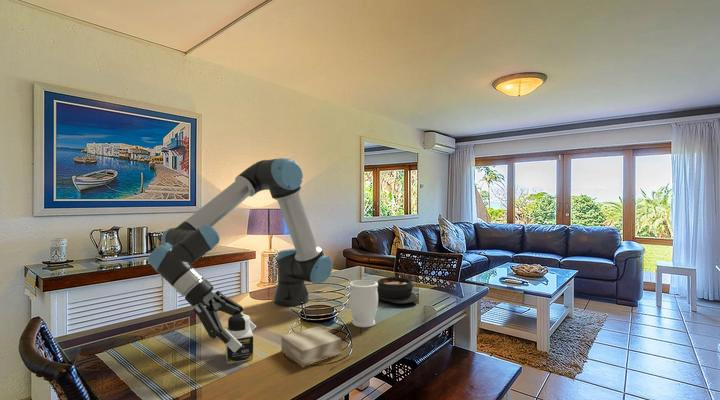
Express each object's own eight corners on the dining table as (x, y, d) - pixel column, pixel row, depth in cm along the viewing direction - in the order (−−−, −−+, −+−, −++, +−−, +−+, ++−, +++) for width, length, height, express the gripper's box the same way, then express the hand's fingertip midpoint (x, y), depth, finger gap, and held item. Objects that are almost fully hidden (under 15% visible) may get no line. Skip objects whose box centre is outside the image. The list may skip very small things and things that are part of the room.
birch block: (318, 341, 116) (318, 326, 116) (341, 355, 106) (341, 338, 106) (281, 352, 108) (281, 336, 108) (302, 369, 98) (302, 351, 98)
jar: (364, 316, 139) (364, 278, 138) (384, 323, 131) (384, 282, 131) (343, 323, 131) (343, 282, 131) (363, 331, 124) (363, 288, 123)
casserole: (364, 294, 169) (364, 276, 169) (398, 290, 177) (398, 273, 177) (389, 310, 146) (389, 289, 146) (427, 304, 154) (427, 285, 154)
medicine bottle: (227, 364, 100) (226, 321, 100) (225, 354, 106) (225, 314, 106) (253, 359, 103) (253, 318, 103) (250, 349, 109) (250, 310, 109)
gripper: (204, 285, 117) (250, 331, 117) (161, 310, 92) (220, 368, 92) (220, 269, 117) (266, 315, 117) (182, 290, 92) (241, 348, 92)
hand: (246, 338), depth 104 cm, fingers open, 13 cm apart
